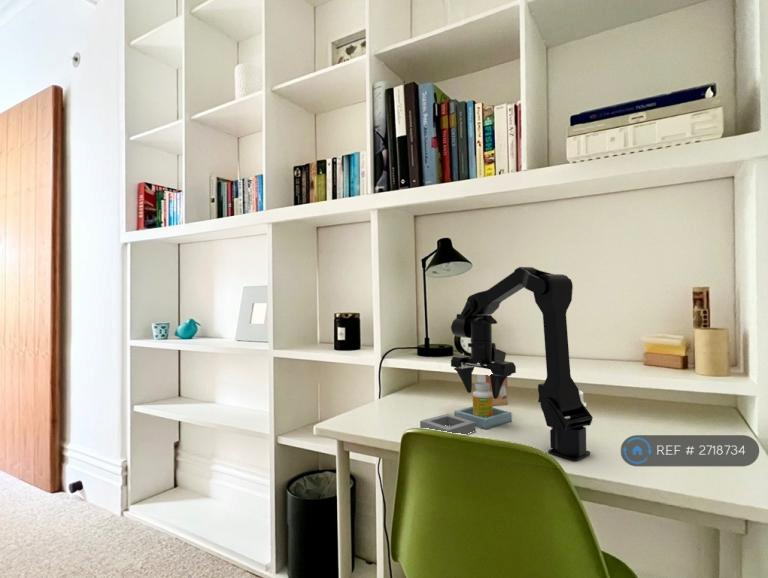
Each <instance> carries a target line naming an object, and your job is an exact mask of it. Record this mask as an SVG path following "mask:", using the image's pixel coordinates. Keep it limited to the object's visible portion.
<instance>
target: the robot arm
mask: <svg viewBox="0 0 768 578" xmlns="http://www.w3.org/2000/svg"><path fill="white" fill-rule="evenodd" d="M573 287H574V286H573V281H572V279H571V278H569V276H567V274H560V273H558V274H557V273H556V274H554V273H551V272H547V271H543V270H539V269H538V268H535V267H533V266H519V267H517V268H515V269H514V271H512V272H511V273H510V274H508V275H507V276H506V277H504V278H503V279H501V280H500V281H498V282H497V283H496V284H494V285H492V286H491V287H489V288H488V289H486V290H483V291H479V292H476V293H473V294H470V295H469V296H468V297H467V299H466V302H465V304H464V307H463V308H462V311H461V313H457V314H456V317H455V318H454V320H453V321H452V323H451V326H450V330H451V333H452V334H453V335H454V336H455V337H458V338H468V339H470V342H469V343H467V348H470V355H463V354H462V355H457V356H456V355H455V356H452V358H451V360H450V367H452V368H453V370H455V371H456V372H457V374H458V377H459V378H460V379H461V381H462V383H463V385H464V387H465V391H466V393H468V394H470V393H472V389H473V382H472V381H473V378H472V377H473V372H474V369H475V368H480V369H484V370H491V372H492V373H493V374H491V375H490V379H491V386H492V393H493V397H494V399H497V398H498V395H499V392H500V390H501V387H502V384H503V382H504V380H505V379H506V377H507V378H508V377H511V376H512V374H517V371H516V370H517V368H516V367H517V366H516V364H515V363H514V362H513V361H507V360H506V356H507V352H505V351H503V350H500V349H498V348H497V346H496V343H495V342H493V339H492V338H493V337H492V336H493V334H492V333H493V332H492V329H493V327H492V325H496V324H498V321H497V319H495V318H494V317H493V316H492V314H494V313H495V312H496V311H497V310H498V309H499V307H500V305H501V303H502V302H503V301H505V300H506V299H509V298H510V297H511V296H513V295H514V294H517V292H519V291H521V290H522V289H526V290H528V291H529V292H532V293H533V298H534V302H535V304H536V305H537V308H539V310H540V312H541V313H542V323H543V335H544V336H543V338H544V350H545V353H544V354H545V365H546V367H545V368H546V379H545V381H544V383H539V384H538V385H537V390H538V391H537V392H538V400H537V402H538V403H540V409H541V412H542V413H543V417H544V420H545V424H546V426H547V427H549V428H551V429H550V430H549V433H550V435H549V437H550V439H549V440H550V444H549V445H550V449H549V450H548V453H549V454H550V455H553V456H554V455H555V456H558V457H562V458H564V459H568V460H571V461H573V462H577V461H579V460H582V459H583V458H585V457H588V456H590V455H591V451H589V450H587V427H589V426H591V424H592V421H593V415H592V414H591V413H590V412H589V411H588V408H587V407H586V408H585V406H584V405H583V404H582V402H581V399H580V394H579V391H580V390H579V387H578V386H577V385H576V383H575V381H574V380H573V378H572V376H571V365H570V364H571V363H570V351H569V349H570V348H569V340H568V339H569V337H568V323H567V321H568V320H567V311H568V309H569V307H570V305H571V303H572V301H573V291H574V290H573V289H574V288H573ZM567 416H570V418H567ZM565 417H566V418H565Z"/></svg>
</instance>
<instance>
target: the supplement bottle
mask: <svg viewBox="0 0 768 578" xmlns="http://www.w3.org/2000/svg"><path fill="white" fill-rule="evenodd" d="M474 389H475V390H474V391H473V392H472V406H473V415H475V416H478V417H482V418H488V417H492V416H493V408H494V405H493V397H492V392H491V391H489V389H490V384H489V383H485V382H477V381H476V382H475V383H474Z"/></svg>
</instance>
